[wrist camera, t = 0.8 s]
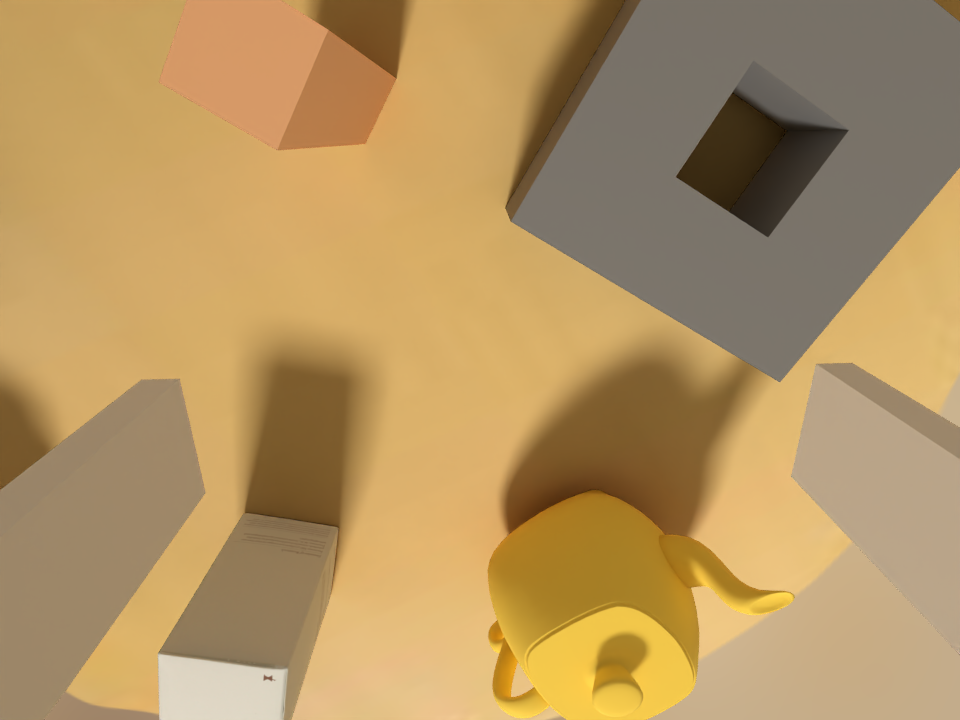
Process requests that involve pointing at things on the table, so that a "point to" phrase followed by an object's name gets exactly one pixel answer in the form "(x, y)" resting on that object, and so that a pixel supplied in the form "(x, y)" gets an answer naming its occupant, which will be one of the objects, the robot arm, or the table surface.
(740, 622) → the table surface
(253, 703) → the supplement box
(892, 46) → the hole block
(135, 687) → the table surface
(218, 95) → the tall pin
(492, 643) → the teapot
